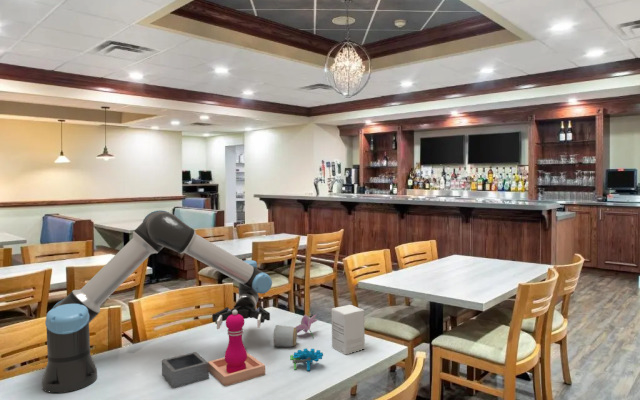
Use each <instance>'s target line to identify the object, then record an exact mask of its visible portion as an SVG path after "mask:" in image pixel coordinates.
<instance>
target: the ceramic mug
mask: <svg viewBox="0 0 640 400" xmlns="http://www.w3.org/2000/svg"><path fill="white" fill-rule="evenodd" d="M297 339H298V333H297V329H296V328H295V326H287V325H279V324H276V325H275V327H274V330H273V346H274V347H286V348H287V347H289V348H290V347H291V348H292V347H295V346H296V345H297Z"/></svg>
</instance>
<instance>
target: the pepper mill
mask: <svg viewBox="0 0 640 400" xmlns="http://www.w3.org/2000/svg"><path fill="white" fill-rule="evenodd" d="M237 313H238V311H237V310H233V311H232V315H230V316H228V317H227V319H226V320H225V326H226V328H227V336H228V344H227V347H226V348H225V352H224V357H225V361H226V363H227V365H226V371H227V372H228V373H234V372H237V371H241V370H244V369H246V363H245V361H246V359H247V353H248V352H247V350H246V348H245V345H244V342H243V334H244V327H245V319H244V318H243V317H242V316H241V315H240V314H237Z"/></svg>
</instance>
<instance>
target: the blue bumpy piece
mask: <svg viewBox="0 0 640 400" xmlns="http://www.w3.org/2000/svg"><path fill="white" fill-rule="evenodd" d="M289 355H290V359H289V360H290V361H292V364H293V371H295V370H297V364H306V371H307V372H309V371H311V364H312V363H314V362H316V363H318V362H319V360H322V359H323V357H324V353H323V352H321V350H319V349H317V350H316V351H315V348H310V350H309V349H308V348H303V350H301V349H298V350H297V351H296V352H295V351H294V353H293V354H289Z"/></svg>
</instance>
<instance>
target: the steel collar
mask: <svg viewBox="0 0 640 400" xmlns="http://www.w3.org/2000/svg"><path fill="white" fill-rule="evenodd" d="M208 362H209V361H207V360H206V359H205V358H203V356H201V355H200V354H199V353H198V352H197V351H193V352H190V353H189V352H188V353H185V354H181V355H180V354H179V355H176V356H172V357H168V358H163V359H161V375H162V377H163V378H164V379H165V381H166V382H167V383H168V384H169V386H170V387H171V388H172V389H176V388H179V387H183V386H187V385H189V384H193V383H197V382H201V381H203V380H207V379H210V372H209V363H208Z"/></svg>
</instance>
